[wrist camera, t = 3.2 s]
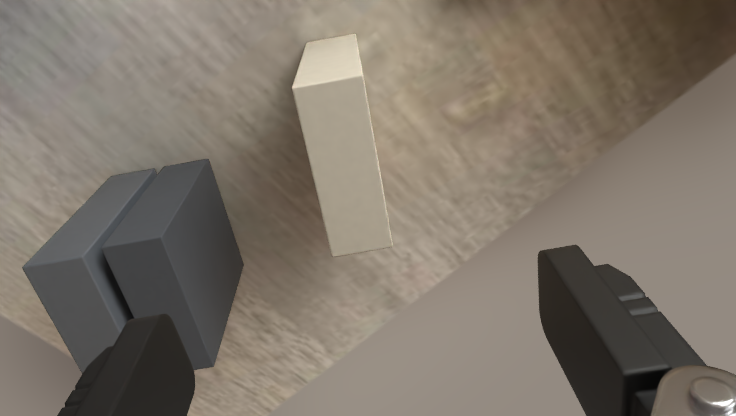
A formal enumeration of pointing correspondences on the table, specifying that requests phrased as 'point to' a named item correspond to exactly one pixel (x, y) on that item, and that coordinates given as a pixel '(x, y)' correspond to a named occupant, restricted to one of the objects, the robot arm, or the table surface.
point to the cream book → (341, 145)
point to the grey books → (142, 262)
